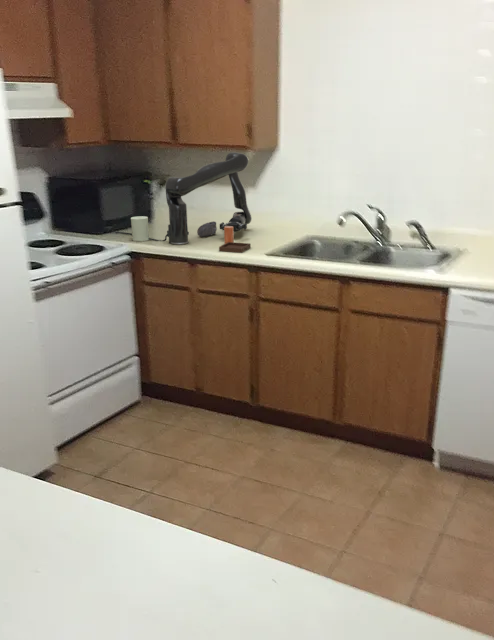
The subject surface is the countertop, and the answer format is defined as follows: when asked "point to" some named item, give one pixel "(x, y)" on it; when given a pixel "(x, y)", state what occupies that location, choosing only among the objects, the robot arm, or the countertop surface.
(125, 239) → the countertop surface
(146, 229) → the can
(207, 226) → the perforated stone tool
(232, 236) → the orange block
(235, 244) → the stand
